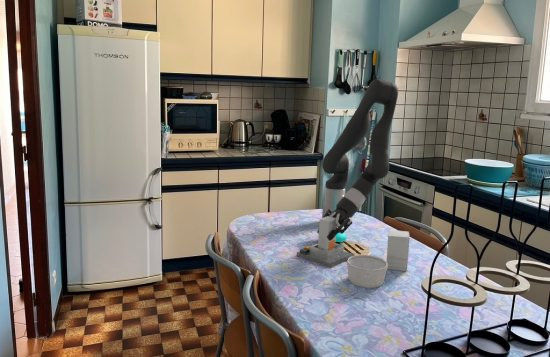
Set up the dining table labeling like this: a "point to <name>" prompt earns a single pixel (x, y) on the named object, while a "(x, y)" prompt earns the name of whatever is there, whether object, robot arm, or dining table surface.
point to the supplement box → (398, 250)
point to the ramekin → (366, 270)
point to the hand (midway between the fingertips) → (323, 236)
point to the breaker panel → (325, 255)
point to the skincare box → (326, 233)
